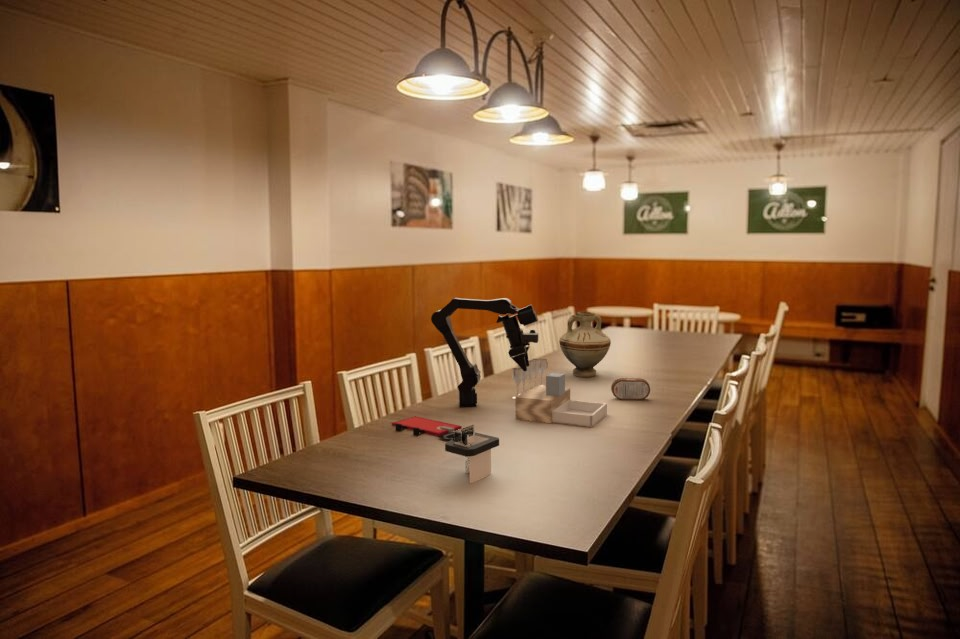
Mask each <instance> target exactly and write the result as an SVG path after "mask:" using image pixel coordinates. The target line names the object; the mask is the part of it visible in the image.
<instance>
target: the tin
mask: <svg viewBox="0 0 960 639" xmlns="http://www.w3.org/2000/svg"><path fill="white" fill-rule="evenodd" d="M610 391H611V393H612V394H613V396H614V397H615V398H616V399H618V400H624V401H629V400H632V401H641V400H642V401H643V400H645V399H646V398H648V397H649V395H650V394H651V386H650V384H649V382H648V381H647V380H646V379H643V378H640V377H639V378H635V377H626V378H625V377H620V378H616V379H615V380H613V382H612V384H611V387H610Z"/></svg>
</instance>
